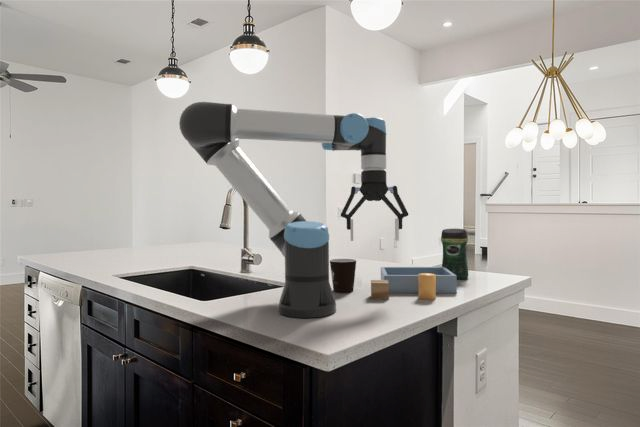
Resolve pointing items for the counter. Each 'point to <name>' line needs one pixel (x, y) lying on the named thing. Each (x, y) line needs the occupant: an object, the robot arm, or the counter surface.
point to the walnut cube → (379, 289)
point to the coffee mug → (343, 275)
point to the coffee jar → (455, 251)
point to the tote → (408, 279)
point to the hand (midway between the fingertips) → (374, 240)
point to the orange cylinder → (427, 286)
